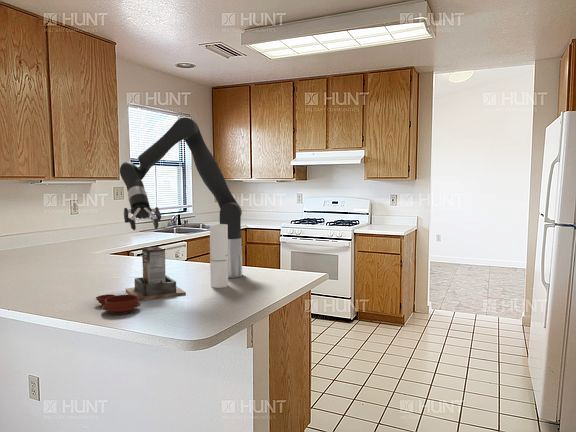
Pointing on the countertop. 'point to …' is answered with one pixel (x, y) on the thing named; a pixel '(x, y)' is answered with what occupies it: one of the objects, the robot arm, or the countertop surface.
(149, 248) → the coffee box
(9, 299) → the countertop surface
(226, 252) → the cylindrical container
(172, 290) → the docking cradle
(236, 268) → the robot arm
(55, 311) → the countertop surface
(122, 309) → the pottery
